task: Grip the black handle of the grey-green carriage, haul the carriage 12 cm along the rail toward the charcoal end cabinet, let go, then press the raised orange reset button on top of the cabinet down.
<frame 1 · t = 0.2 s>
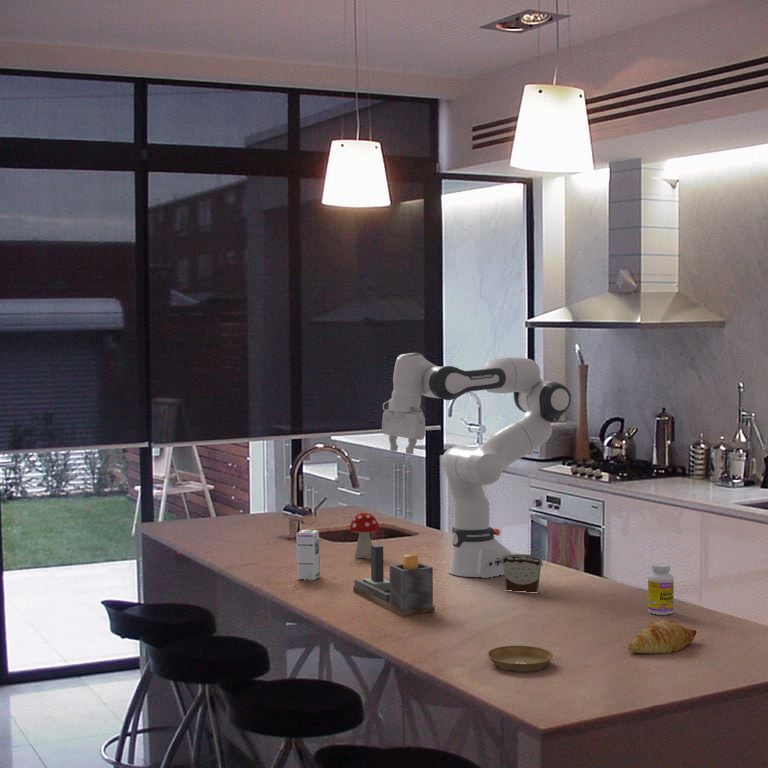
hand: (401, 452, 350), 39 cm above the counter, tool pointing down, fingers open, 8 cm apart
rail: (392, 601, 325), on the counter
syrup box: (308, 578, 356), on the counter
decorative mushroom: (364, 558, 387), on the counter
food container: (524, 591, 337), on the counter
croissant: (661, 649, 276), on the counter
carriage: (377, 567, 334), point 8 cm above the counter, slide at 0.0 cm
supplement bottle: (660, 613, 309), on the counter
reset button: (410, 566, 313), point 12 cm above the counter, slide at 0.0 cm
plant saucer: (520, 666, 263), on the counter
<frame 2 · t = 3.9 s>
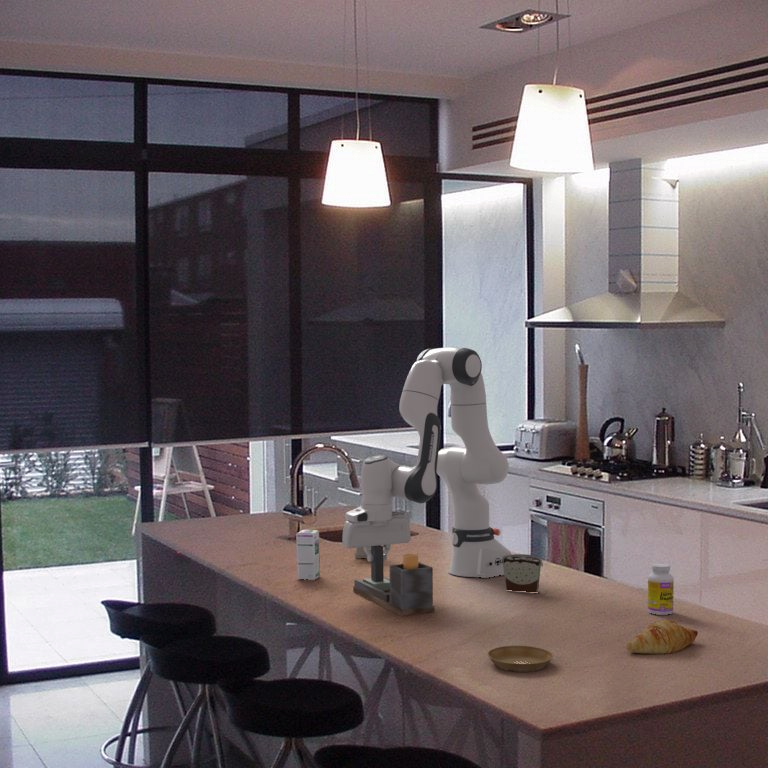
hand: (377, 560, 334), 10 cm above the counter, tool pointing down, fingers closed on carriage, 2 cm apart
carriage: (377, 567, 334), point 8 cm above the counter, slide at 0.0 cm, touching gripper
everything else where it was.
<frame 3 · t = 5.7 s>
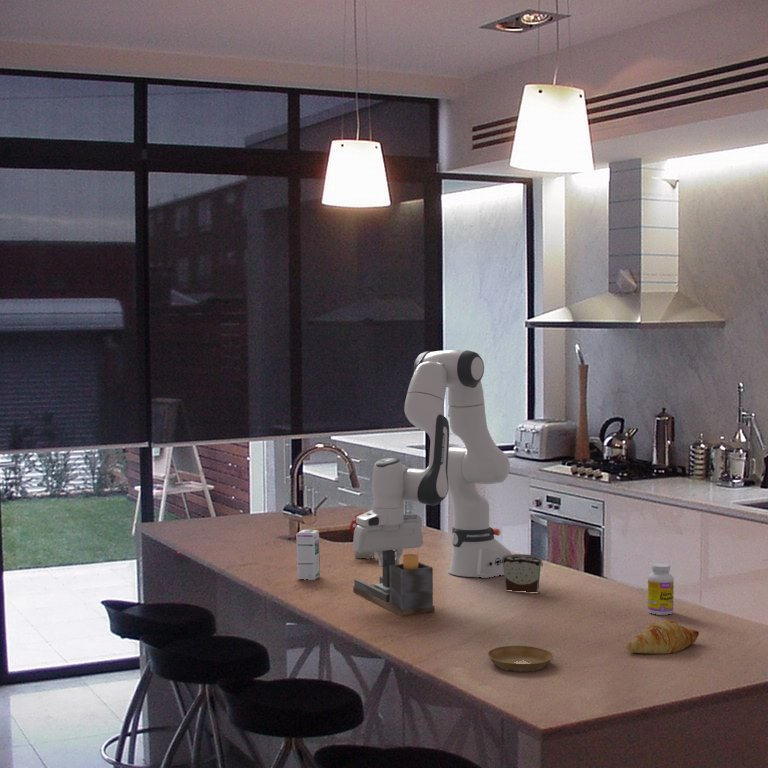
hand: (388, 565, 326), 10 cm above the counter, tool pointing down, fingers closed on carriage, 2 cm apart
carriage: (388, 572, 327), point 8 cm above the counter, slide at 7.9 cm, touching gripper
everything else where it was.
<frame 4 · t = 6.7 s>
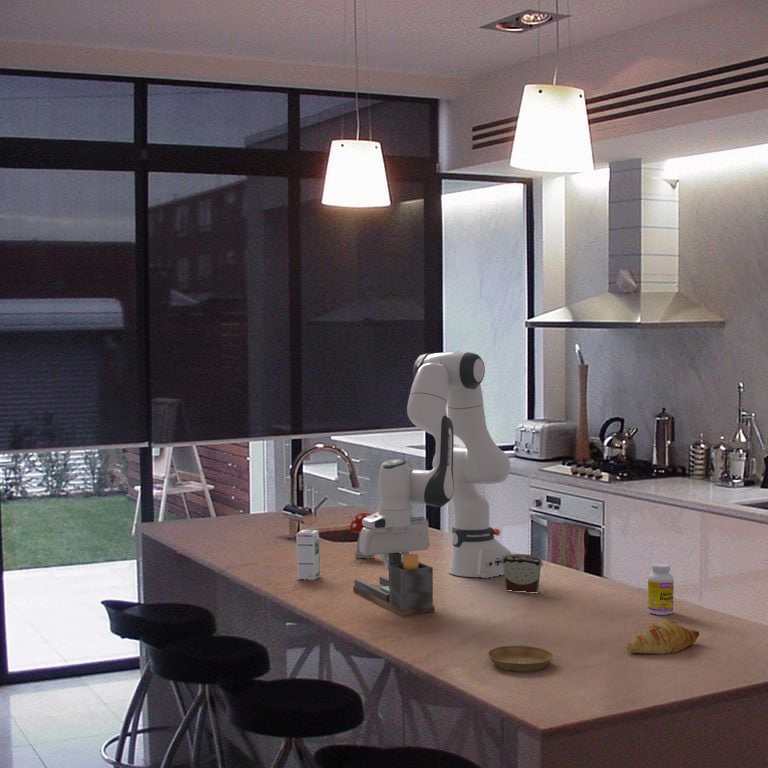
hand: (395, 568, 323), 10 cm above the counter, tool pointing down, fingers closed on carriage, 2 cm apart
carriage: (395, 574, 323), point 8 cm above the counter, slide at 12.0 cm, touching gripper
everything else where it was.
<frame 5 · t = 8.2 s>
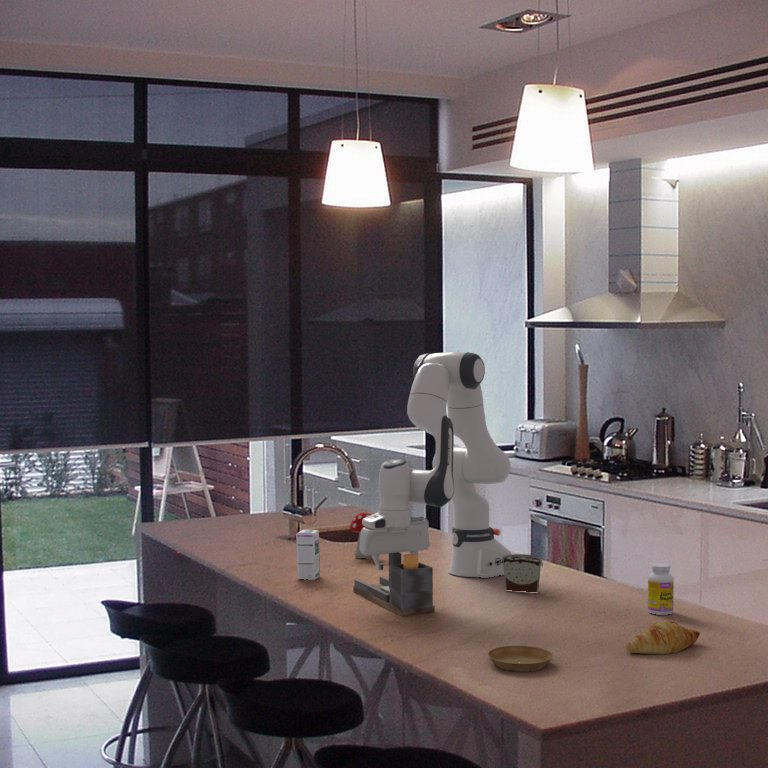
hand: (395, 568, 323), 10 cm above the counter, tool pointing down, fingers open, 8 cm apart
carriage: (395, 574, 323), point 8 cm above the counter, slide at 12.0 cm
everything else where it was.
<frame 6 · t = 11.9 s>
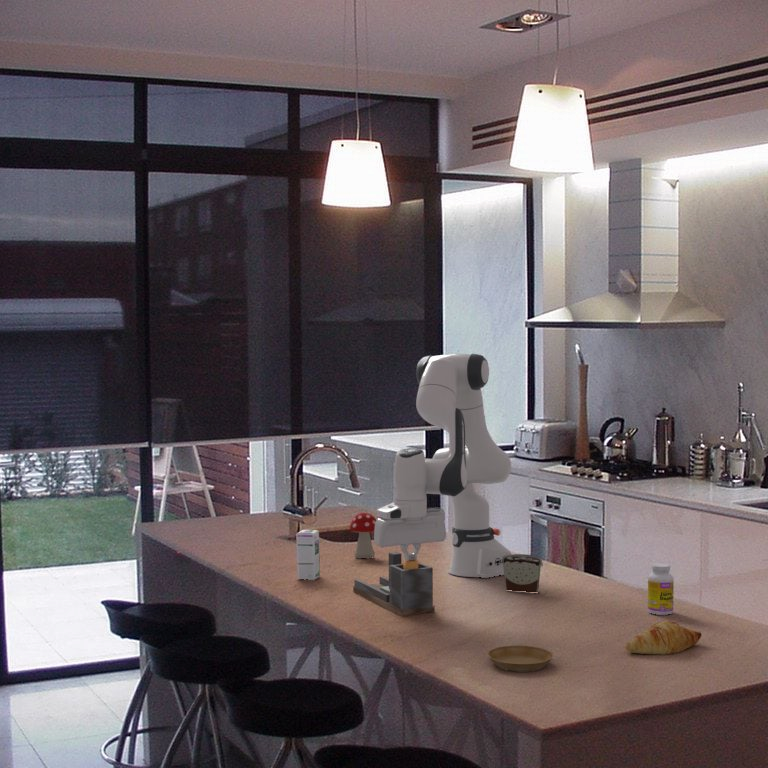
hand: (410, 560, 313), 14 cm above the counter, tool pointing down, fingers closed, pressing on reset button
reset button: (410, 571, 314), point 11 cm above the counter, slide at 1.4 cm, touching gripper
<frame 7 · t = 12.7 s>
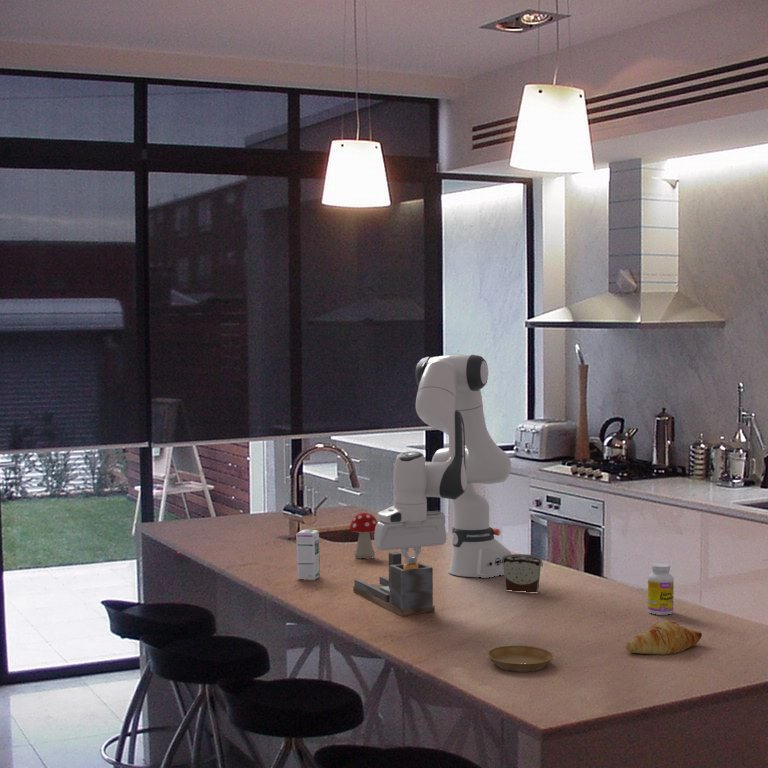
hand: (410, 563, 313), 13 cm above the counter, tool pointing down, fingers closed
reset button: (411, 575, 314), point 10 cm above the counter, slide at 2.4 cm
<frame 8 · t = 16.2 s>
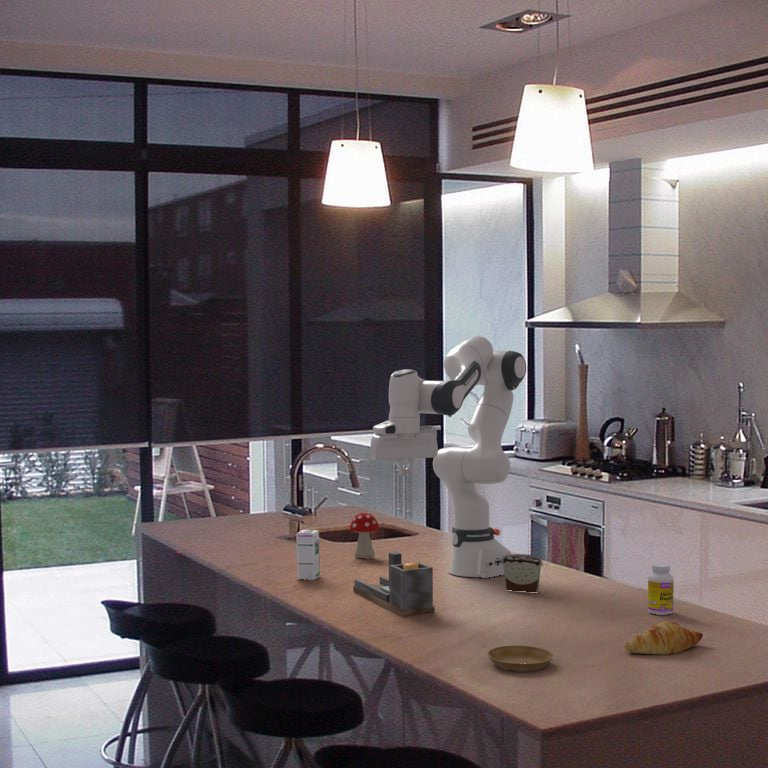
hand: (404, 474, 334), 34 cm above the counter, tool pointing down, fingers closed
at the end: carriage slide at 12.0 cm; reset button slide at 2.4 cm; the gripper is holding nothing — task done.
